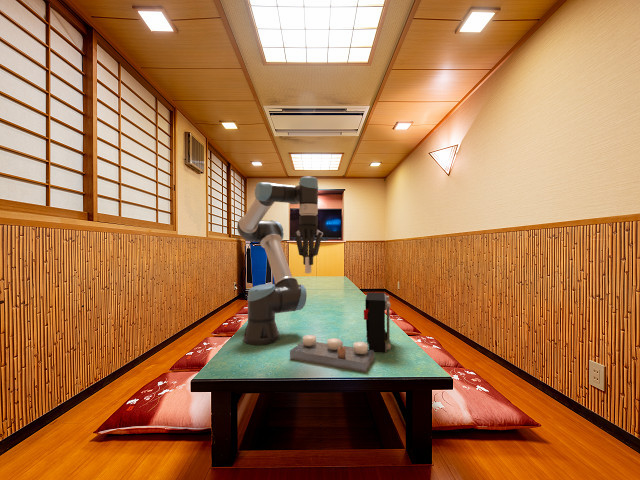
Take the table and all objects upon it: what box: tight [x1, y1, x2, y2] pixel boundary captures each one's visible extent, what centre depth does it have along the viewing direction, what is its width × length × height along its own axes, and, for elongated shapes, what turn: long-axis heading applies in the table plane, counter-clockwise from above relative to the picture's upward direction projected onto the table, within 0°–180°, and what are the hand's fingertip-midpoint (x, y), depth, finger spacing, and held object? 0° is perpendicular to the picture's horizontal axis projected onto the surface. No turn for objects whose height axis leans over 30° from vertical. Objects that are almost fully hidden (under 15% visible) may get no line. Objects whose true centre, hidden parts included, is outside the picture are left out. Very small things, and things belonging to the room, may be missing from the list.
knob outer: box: [352, 341, 369, 355], centre depth 103 cm, size 5×5×6 cm
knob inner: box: [302, 334, 317, 347], centre depth 110 cm, size 5×5×6 cm
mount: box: [289, 341, 375, 373], centre depth 105 cm, size 28×12×3 cm, turn 67°
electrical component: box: [363, 291, 392, 354], centre depth 119 cm, size 18×10×20 cm, turn 168°
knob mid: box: [326, 337, 341, 350], centre depth 106 cm, size 5×5×6 cm
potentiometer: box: [338, 341, 345, 358], centre depth 99 cm, size 3×3×5 cm
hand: (308, 272), depth 118 cm, fingers closed
